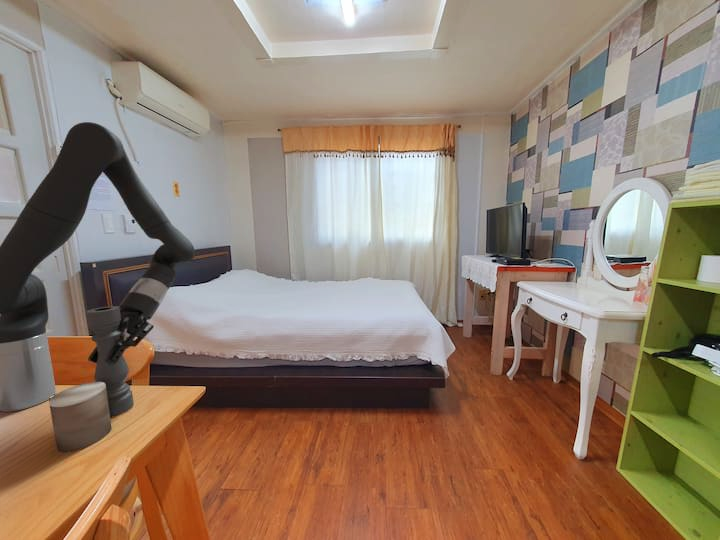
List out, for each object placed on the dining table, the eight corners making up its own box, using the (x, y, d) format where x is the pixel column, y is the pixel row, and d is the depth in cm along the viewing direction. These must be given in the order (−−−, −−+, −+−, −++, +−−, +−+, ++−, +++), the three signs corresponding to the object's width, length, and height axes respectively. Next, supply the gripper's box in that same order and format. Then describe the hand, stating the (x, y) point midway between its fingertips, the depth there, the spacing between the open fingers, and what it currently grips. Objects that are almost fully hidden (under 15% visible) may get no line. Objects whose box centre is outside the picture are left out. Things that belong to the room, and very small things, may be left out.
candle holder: (140, 403, 67) (127, 306, 64) (111, 420, 61) (96, 313, 58) (122, 400, 69) (109, 305, 66) (92, 415, 63) (77, 312, 60)
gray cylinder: (62, 435, 57) (54, 391, 56) (113, 419, 62) (107, 377, 61) (52, 459, 51) (43, 409, 49) (109, 438, 56) (103, 393, 54)
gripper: (110, 290, 70) (59, 355, 60) (157, 291, 68) (113, 358, 58) (133, 305, 76) (90, 366, 66) (177, 306, 74) (140, 369, 63)
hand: (101, 362), depth 62 cm, fingers closed on candle holder, 4 cm apart
